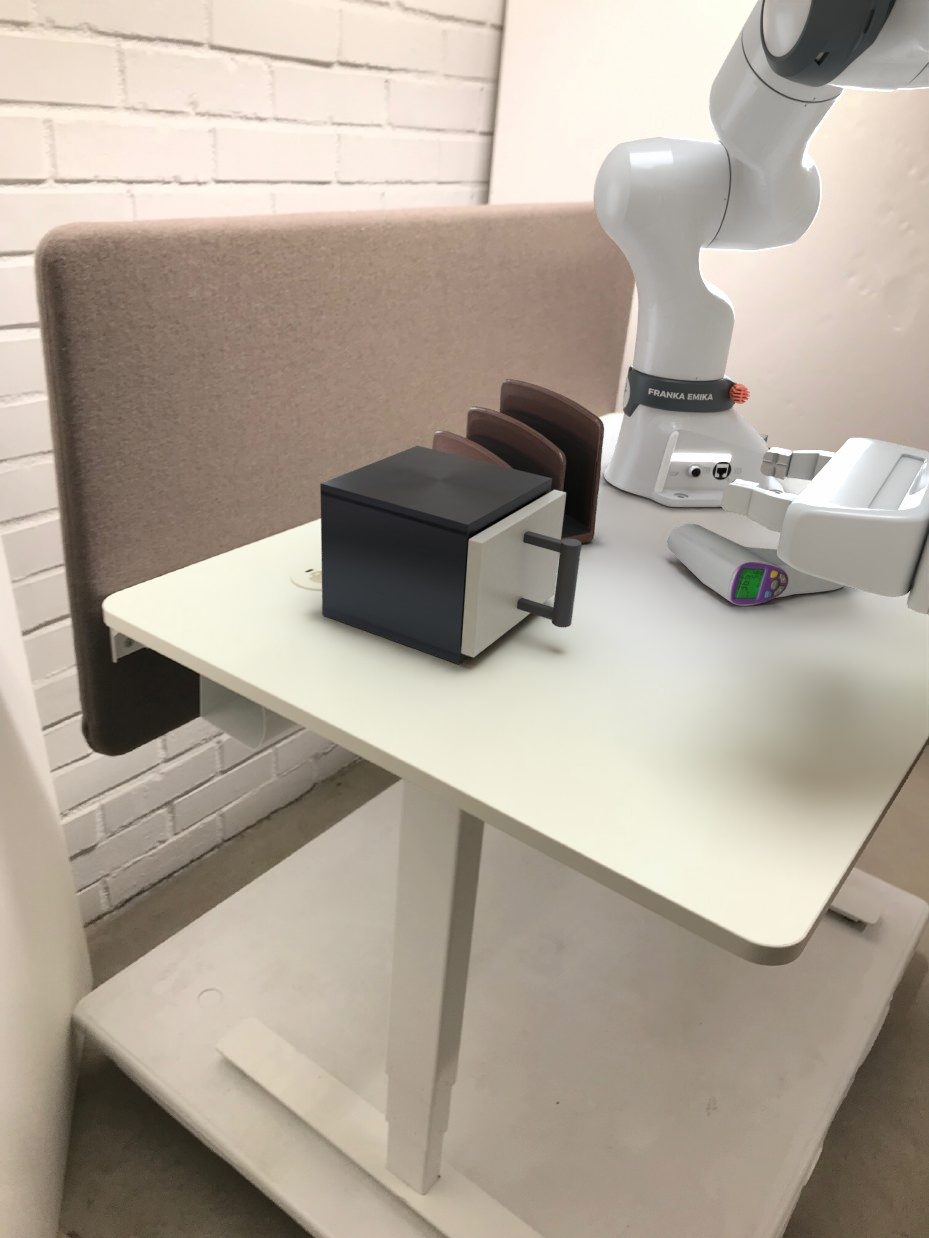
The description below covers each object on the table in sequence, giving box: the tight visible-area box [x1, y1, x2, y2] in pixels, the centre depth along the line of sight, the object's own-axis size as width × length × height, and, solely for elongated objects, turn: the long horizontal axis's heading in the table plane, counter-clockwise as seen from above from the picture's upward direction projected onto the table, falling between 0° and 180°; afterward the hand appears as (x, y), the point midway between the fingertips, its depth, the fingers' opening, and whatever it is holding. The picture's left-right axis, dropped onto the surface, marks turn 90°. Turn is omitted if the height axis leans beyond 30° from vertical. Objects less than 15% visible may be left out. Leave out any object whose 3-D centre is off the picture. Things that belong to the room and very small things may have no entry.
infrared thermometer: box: [666, 523, 845, 607], centre depth 91 cm, size 5×12×15 cm
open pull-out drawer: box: [461, 490, 582, 658], centre depth 76 cm, size 19×14×10 cm
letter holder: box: [431, 378, 605, 544], centre depth 99 cm, size 10×20×14 cm, turn 29°
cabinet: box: [319, 445, 552, 665], centre depth 78 cm, size 14×14×12 cm
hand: (746, 475), depth 62 cm, fingers open, 8 cm apart
